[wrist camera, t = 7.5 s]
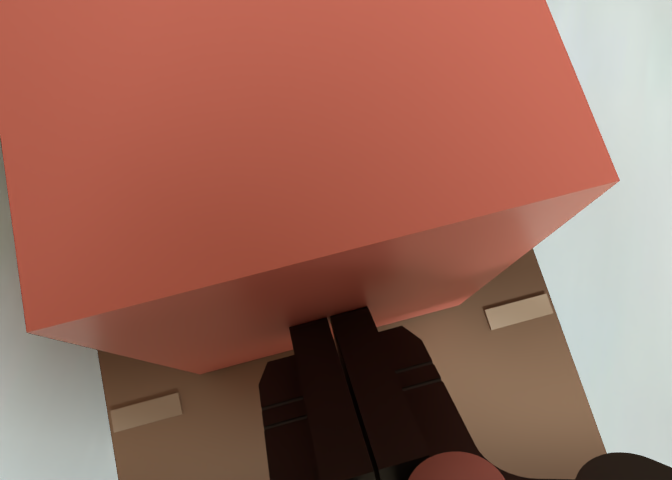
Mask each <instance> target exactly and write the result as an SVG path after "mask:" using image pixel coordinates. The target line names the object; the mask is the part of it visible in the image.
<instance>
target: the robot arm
mask: <svg viewBox="0 0 672 480" xmlns="http://www.w3.org/2000/svg"><path fill="white" fill-rule="evenodd" d="M330 321H331V326H332V330H333V335H334V339H335V342H334V339H333V336H332V333H331V329H330V326H329V323H328V320H327V317H326V318H322V319H318V320H315V321H311V322H307V323H303V324H300V325H296V326H292V327H289V330H290V335H291V340H292V345H293V350H294V355H291V356H288V357H284V358H280V359H276V360H273V361H269V362H267V364H266V367H265V369H264V372H263V374H262V377H261V379H260V382H259V384H258V385H259V393H260V402H261V409H262V419H263V427H264V435H265V444H266V452H267V461H268V469H269V477H270V480H672V468H671V467H669V466H666V465H664V464H662V463H659V462H657V461H654V460H652V459H649V458H646V457H644V456H640V455H636V454H631V453H608V454H603V455H600V456H597V457H595V458H593V459H591V460H589V461H588V462H587V463H586V464H584V465H583V466H582V468H581V469H580V470H579V472H578V474H577V476H576V478H575V479H535V478H526V477H521V476H517V475H514V474H510V473H508V472H506V471H504V470H501V469H499V468H498V467H496V466H495V465H493V464H492V463H490V462H489V461H488V460H487V459H486V458H485V457H484V456H483V455H482V454H481V453H480V452H479V450H478V448H477V447H476V445H475V443H474V441H473V439H472V437H471V435H470V434H469V432H468V430H467V428H466V426H465V424H464V422H463V420H462V418H461V416H460V414H459V412H458V410H457V408H456V406H455V404H454V402H453V400H452V398H451V396H450V394H449V392H448V390H447V388H446V386H445V384H444V382H442V380H441V377H440V375H439V373H438V371H437V369H436V367H435V365H433V362H432V359H431V357H430V355H429V353H428V351H427V349H426V347H425V345H424V343H423V341H422V340H421V339H420V338H418V337H417V336H416V335H414V334H413V333H412V332H410V331H409V330H407V329H406V328H405V327H403V326H399V327H395V328H391V329H387V330H384V331H380V332H378V330H377V327H376V325H375V323H374V320H373V318H372V315H371V313H370V311H369V308H368V307H363V308H359V309H356V310H352V311H348V312H344V313H341V314H337V315H333V316H330ZM335 343H336V346H335ZM336 348H337V349H336Z"/></svg>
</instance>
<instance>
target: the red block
mask: <svg viewBox="0 0 672 480" xmlns="http://www.w3.org/2000/svg"><path fill="white" fill-rule="evenodd" d="M0 138H1V145H2V152H3V160H4V167H5V175H6V182H7V190H8V197H9V205H10V212H11V219H12V227H13V234H14V242H15V249H16V257H17V264H18V272H19V279H20V286H21V294H22V301H23V309H24V316H25V324H26V331H27V333H30V334H34V335H38V336H43V337H47V338H51V339H55V340H59V341H63V342H67V343H72V344H76V345H80V346H84V347H88V348H92V349H96V350H101V351H105V352H109V353H113V354H117V355H121V356H125V357H130V358H134V359H138V360H142V361H146V362H150V363H154V364H159V365H163V366H167V367H171V368H175V369H179V370H183V371H188V372H192V373H196V374H204V373H208V372H211V371H215V370H219V369H223V368H226V367H230V366H234V365H237V364H241V363H245V362H249V361H252V360H256V359H260V358H264V357H267V356H271V355H275V354H279V353H282V352H286V351H290V350H293V345H292V340H291V335H290V330H289V327H292V326H296V325H300V324H303V323H307V322H311V321H315V320H318V319H322V318H326V317H327V320H328V323H329V326H330V329H331V333H332V336H333V339H334V335H333V330H332V326H331V321H330V316H333V315H337V314H341V313H344V312H348V311H352V310H356V309H359V308H363V307H368V308H369V311H370V313H371V315H372V318H373V320H374V323H375V325H376V327H380V326H383V325H387V324H391V323H394V322H398V321H402V320H406V319H409V318H413V317H417V316H421V315H424V314H428V313H432V312H436V311H439V310H443V309H447V308H451V307H454V306H458V305H460V304H461V303H463V302H464V301H465V300H466V299H468V298H469V297H470V296H472V295H473V294H474V293H475V292H477V291H478V290H479V289H481V288H482V287H483V286H484V285H486V284H487V283H488V282H490V281H491V280H492V279H494V278H495V277H496V276H497V275H499V274H500V273H501V272H503V271H504V270H505V269H506V268H508V267H509V266H510V265H512V264H513V263H514V262H515V261H517V260H518V259H519V258H521V257H522V256H523V255H524V254H526V253H527V252H528V251H530V250H531V249H532V248H534V247H535V246H536V245H537V244H539V243H540V242H541V241H543V240H544V239H545V238H546V237H548V236H549V235H550V234H552V233H553V232H554V231H555V230H557V229H558V228H559V227H561V226H562V225H563V224H564V223H566V222H567V221H568V220H570V219H571V218H572V217H573V216H575V215H576V214H577V213H579V212H580V211H581V210H583V209H584V208H585V207H586V206H588V205H589V204H590V203H592V202H593V201H594V200H595V199H597V198H598V197H599V196H601V195H602V194H603V193H604V192H606V191H607V190H608V189H610V188H611V187H612V186H613V185H615V184H616V183H617V182H619V181H620V180H619V178H618V175H617V173H616V170H615V168H614V165H613V163H612V161H611V158H610V156H609V153H608V151H607V148H606V146H605V144H604V141H603V139H602V136H601V134H600V131H599V129H598V127H597V124H596V122H595V119H594V117H593V114H592V112H591V110H590V107H589V105H588V102H587V100H586V97H585V95H584V93H583V90H582V88H581V85H580V83H579V80H578V78H577V76H576V73H575V71H574V68H573V66H572V63H571V61H570V59H569V56H568V54H567V51H566V49H565V46H564V44H563V42H562V39H561V37H560V34H559V32H558V29H557V27H556V25H555V22H554V20H553V17H552V15H551V12H550V10H549V8H548V5H547V3H546V0H0Z"/></svg>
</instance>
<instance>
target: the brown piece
mask: <svg viewBox="0 0 672 480" xmlns="http://www.w3.org/2000/svg"><path fill="white" fill-rule="evenodd" d="M399 326H403V327H405V328H406V329H407V330H409V331H410V332H412V333H413V334H414V335H416V336H417V337H418V338H420V339H421V340H422V341H423V343H424V345H425V347H426V349H427V351H428V353H429V355H430V357H431V359H432V362H433V365H435V367H436V369H437V371H438V373H439V375H440V377H441V380H442V382H444V384H445V386H446V388H447V390H448V392H449V394H450V396H451V398H452V400H453V402H454V404H455V406H456V408H457V410H458V412H459V414H460V416H461V418H462V420H463V422H464V424H465V426H466V428H467V430H468V432H469V434H470V435H471V437H472V439H473V441H474V443H475V445H476V447H477V448H478V450H479V452H480V453H481V454H482V455H483V456H484V457H485V458H486V459H487V460H488V461H489V462H490V463H492V464H493V465H495V466H496V467H498V468H499V469H501V470H504V471H506V472H508V473H510V474H514V475H517V476H521V477H526V478H535V479H575V478H576V476H577V474H578V472H579V470H580V469H581V468H582V466H583V465H584V464H586V463H587V462H588V461H589V460H591V459H593V458H595V457H597V456H600V455H603V454H607V453H606V450H605V447H604V444H603V442H602V439H601V436H600V433H599V431H598V428H597V425H596V422H595V419H594V417H593V414H592V411H591V408H590V406H589V403H588V400H587V397H586V395H585V392H584V389H583V386H582V384H581V381H580V378H579V375H578V372H577V370H576V367H575V364H574V361H573V359H572V356H571V353H570V350H569V348H568V345H567V342H566V339H565V336H564V334H563V331H562V328H561V325H560V323H559V320H558V317H557V314H556V312H555V309H554V306H553V303H552V301H551V298H550V295H549V292H548V289H547V287H546V284H545V281H544V278H543V276H542V273H541V270H540V267H539V265H538V262H537V259H536V256H535V254H534V251H533V248H532V249H531V250H530V251H528V252H527V253H526V254H524V255H523V256H522V257H521V258H519V259H518V260H517V261H515V262H514V263H513V264H512V265H510V266H509V267H508V268H506V269H505V270H504V271H503V272H501V273H500V274H499V275H497V276H496V277H495V278H494V279H492V280H491V281H490V282H488V283H487V284H486V285H484V286H483V287H482V288H481V289H479V290H478V291H477V292H475V293H474V294H473V295H472V296H470V297H469V298H468V299H466V300H465V301H464V302H463V303H461V304H460V305H458V306H454V307H451V308H447V309H443V310H439V311H436V312H432V313H428V314H424V315H421V316H417V317H413V318H409V319H406V320H402V321H398V322H394V323H391V324H387V325H383V326H380V327H377V330H378V332H380V331H384V330H387V329H391V328H395V327H399ZM334 342H335V339H334ZM335 346H336V343H335ZM336 349H337V348H336ZM97 351H98V357H99V363H100V369H101V375H102V381H103V388H104V394H105V400H106V406H107V412H108V418H109V424H110V431H111V437H112V443H113V449H114V455H115V461H116V467H117V474H118V480H270V477H269V469H268V461H267V452H266V444H265V435H264V427H263V419H262V409H261V402H260V393H259V385H258V384H259V382H260V379H261V377H262V374H263V372H264V369H265V367H266V364H267V362H269V361H273V360H276V359H280V358H284V357H288V356H291V355H294V350H290V351H286V352H282V353H279V354H275V355H271V356H267V357H264V358H260V359H256V360H252V361H249V362H245V363H241V364H237V365H234V366H230V367H226V368H223V369H219V370H215V371H211V372H208V373H204V374H196V373H192V372H188V371H183V370H179V369H175V368H171V367H167V366H163V365H159V364H154V363H150V362H146V361H142V360H138V359H134V358H130V357H125V356H121V355H117V354H113V353H109V352H105V351H101V350H97Z"/></svg>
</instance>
